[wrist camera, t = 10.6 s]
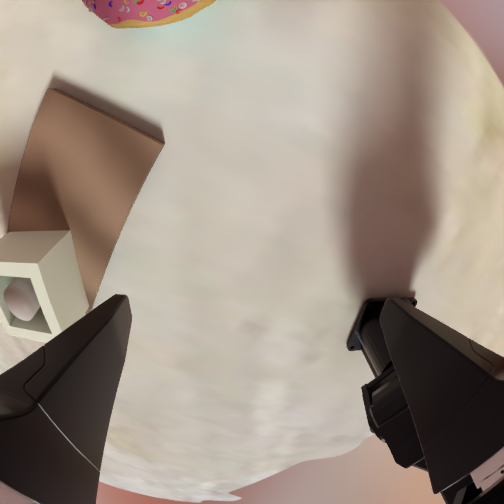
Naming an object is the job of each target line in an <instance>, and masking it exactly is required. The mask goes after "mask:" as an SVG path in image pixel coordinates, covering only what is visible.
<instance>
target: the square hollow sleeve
mask: <svg viewBox="0 0 504 504" xmlns="http://www.w3.org/2000/svg"><path fill="white" fill-rule="evenodd" d="M16 277H23V278H31V281H32V284H33V287H34V290H35V293H36V296H37V298H38V301H39V304H40V308H39V309H38V311H37V312H36V314H35V315H34V317H33V318H32V319H31V320H30V321H24V320H21V319H19V318H17V317H16V316H15V315H14V314H13V313H12V312H11V311H10V310H9V308H8V307H7V305H6V303H5V300H4V290H5V289H6V288H7V287H8V285H9V284H10V283H11V282H12V281H13V280H14V279H15V278H16ZM88 307H89V304H88V300H87V297H86V293H85V290H84V286H83V283H82V279H81V275H80V271H79V267H78V263H77V259H76V254H75V250H74V245H73V240H72V235H71V230H59V231H20V232H9V233H7V234H6V235H5V236H4V237H2V238H1V239H0V322H1V324H2V326H3V328H4V330H5V332H6V334H8V335H12V336H16V337H21V338H25V339H30V340H35V341H40V342H45V343H47V342H49V341H50V340H51V339H53V338H54V337H56V336H57V335H58V334H60V333H61V332H62V331H64V330H65V329H67V328H68V327H69V326H71V325H72V324H74V323H75V322H76V321H78V320H79V319H81V318H82V317H83V316H84V315H85V313H86V311H87V309H88Z"/></svg>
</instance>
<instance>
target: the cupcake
mask: <svg viewBox="0 0 504 504" xmlns="http://www.w3.org/2000/svg"><path fill="white" fill-rule="evenodd" d="M82 1H83V3H84V4H85V6H86V7H87V8H89V12H93V13H95V14H96V15H97V16H98V17H99V18H101V19H102V20H103V21H104V22H106V23H107V24H108V25H110V26H112V27H114V28H140V27H151V26H160V25H165V24H170V23H174V22H178V21H181V20H183V19H186V18H189V17H191V16H192V15H194V14H195V13H197V12H199V11H200V10H202V9H203V8H205V7H207V6H209V5H211V4H212V3H213V2H215V1H216V0H82Z"/></svg>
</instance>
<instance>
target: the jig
mask: <svg viewBox="0 0 504 504" xmlns="http://www.w3.org/2000/svg"><path fill="white" fill-rule="evenodd" d="M164 144H165V143H163V142H161V141H159V140H157V139H155V138H154V137H152V136H150V135H148V134H146V133H144V132H142V131H140V130H139V129H137V128H135V127H133V126H131V125H129V124H127V123H125V122H123V121H121V120H119V119H117V118H115V117H113V116H111V115H109V114H107V113H105V112H103V111H101V110H99V109H97V108H95V107H93V106H91V105H89V104H87V103H85V102H83V101H81V100H78V99H76V98H74V97H72V96H70V95H68V94H66V93H63V92H61V91H59V90H57V89H48V90H47V92H46V95H45V97H44V99H43V102H42V104H41V107H40V109H39V112H38V114H37V117H36V119H35V122H34V125H33V128H32V130H31V133H30V136H29V139H28V142H27V145H26V149H25V152H24V155H23V159H22V162H21V166H20V170H19V174H18V178H17V182H16V186H15V191H14V196H13V201H12V206H11V212H10V218H9V224H8V232H7V233H9V232H20V231H59V230H71V235H72V240H73V245H74V250H75V254H76V259H77V263H78V267H79V271H80V275H81V279H82V283H83V286H84V290H85V293H86V297H87V300H88V304H89V307H88V309H87V311H86V313H85V314H88V313H89V312H90V311H91V310H92V307H93V304H94V301H95V298H96V295H97V292H98V290H99V287H100V284H101V281H102V278H103V276H104V273H105V270H106V268H107V265H108V262H109V260H110V257H111V255H112V252H113V250H114V247H115V245H116V242H117V240H118V238H119V235H120V233H121V231H122V228H123V226H124V224H125V222H126V219H127V217H128V215H129V213H130V211H131V208H132V206H133V204H134V202H135V200H136V198H137V196H138V194H139V192H140V190H141V188H142V186H143V184H144V182H145V180H146V178H147V176H148V174H149V172H150V170H151V168H152V166H153V164H154V163H155V161H156V159H157V157H158V155H159V153H160V152H161V150H162V148H163V146H164ZM4 300H5V303H6V305H7V307H8V308H9V310H10V311H11V312H12V313H13V314H14V315H15V316H16V317H17V318H19V319H21V320H24V321H30V320H31V319H32V318H33V317H34V315H35V314H36V312H37V311H38V309H39V308H40V304H39V301H38V298H37V296H36V293H35V290H34V287H33V284H32V281H31V278H23V277H16V278H15V279H14V280H13V281H12V282H11V283H10V284H9V285H8V287H7V288H6V289H5V290H4Z"/></svg>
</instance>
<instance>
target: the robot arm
mask: <svg viewBox="0 0 504 504" xmlns="http://www.w3.org/2000/svg"><path fill="white" fill-rule="evenodd" d="M369 304H370V305H369ZM416 304H417V300H416V299H415V298H388V299H368V300H367V301H366V302H365V303H364V306H363V308H362V311H361V313H360V316H359V318H358V321H357V323H356V325H355V328H354V330H353V333H352V335H351V337H350V339H349V342H348V344H347V348H348V350H349V351H354V350H362V352H363V354H364V356H365V358H366V360H367V362H368V364H369V366H370V368H371V370H372V372H373V374H374V376H375V379H373V380H372V381H371V382H369V383H368V384H365V385H364V386H362V387H361V389H362V393H363V395H362V396H363V400H364V405H365V410H366V414H367V419H368V424H369V426H370V430H371V432H372V433H375V434H376V436H377V437H378V438H379V439H380V440H381V441H383V442H385V443H387V445H388V447H389V449H390V450H391V453H392V455H393V457H394V460H395V462H396V463H397V464H399V465H400V466H402V467H404V468H408V467H410V466H415V467H417V468H420V469H422V470H425V471H427V472H428V473H429V477H430V481H431V485H432V489H433V493H434V495H436V494H437V493H439V492H440V493H441V494H442V496H443V499H444V500H445V502H446V504H504V357H502V356H500V355H498V354H496V353H494V352H493V351H491V350H489V349H487V348H485V347H483V346H482V345H480V344H478V343H476V342H475V341H473V340H471V339H469V338H467V337H466V336H464V335H463V334H461V333H459V332H457V331H456V330H454V329H452V328H450V327H449V326H447V325H445V324H443V323H442V322H440V321H438V320H436V319H435V318H433V317H431V316H429V315H428V314H426V313H424V312H422V311H420V310H419V309H417V308H415V306H416ZM131 323H132V314H131V309H130V304H129V299H128V297H127V296H126V295H120V294H115V295H114V296H112V297H111V298H109V299H108V300H106V301H105V302H103V303H102V304H101V305H99V306H98V307H96V308H95V309H93V310H92V311H90V312H89V313H88V314H86V315H85V316H83V317H82V318H81V319H79V320H78V321H76V322H75V323H74V324H72V325H71V326H69V327H68V328H67V329H65V330H64V331H62V332H61V333H60V334H58V335H57V336H56V337H54V338H53V339H51V340H50V341H49V342H47V343H46V344H45V345H44V346H42V347H41V348H39V349H38V350H37V351H35V352H34V353H32V354H31V355H30V356H28V357H27V358H25V359H24V360H23V361H21V362H19V363H18V364H16V365H15V366H13V367H12V368H10V369H9V370H7V371H6V372H4V373H2V374H1V375H0V504H96V496H97V489H98V482H99V476H100V472H99V471H100V468H101V463H102V457H103V451H104V446H105V441H106V436H107V431H108V426H109V422H110V417H111V413H112V409H113V404H114V400H115V396H116V392H117V388H118V384H119V381H120V377H121V373H122V370H123V366H124V362H125V357H126V351H127V345H128V339H129V334H130V328H131Z"/></svg>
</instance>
